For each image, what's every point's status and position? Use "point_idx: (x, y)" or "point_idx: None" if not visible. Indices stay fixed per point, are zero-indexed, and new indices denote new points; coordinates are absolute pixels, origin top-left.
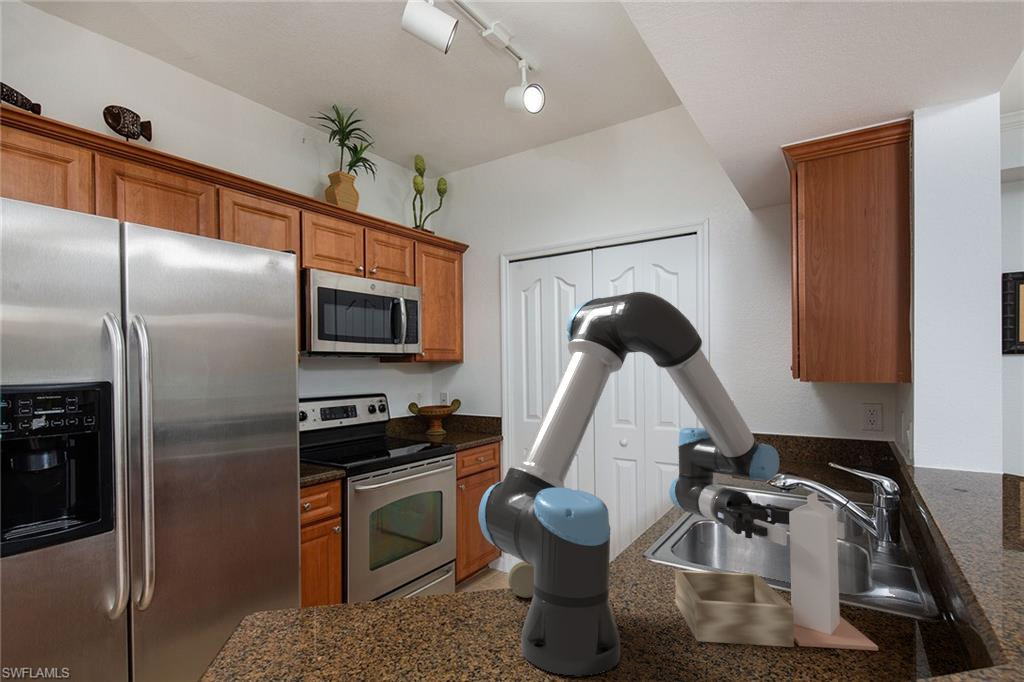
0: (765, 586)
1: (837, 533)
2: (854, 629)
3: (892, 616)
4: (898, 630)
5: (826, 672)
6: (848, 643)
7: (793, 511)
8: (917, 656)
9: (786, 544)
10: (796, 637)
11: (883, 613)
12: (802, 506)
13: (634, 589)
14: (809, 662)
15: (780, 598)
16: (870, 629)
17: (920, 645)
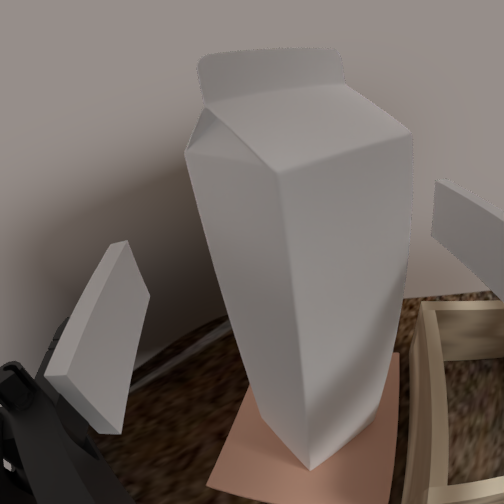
0: (444, 400)
1: (139, 293)
2: (249, 396)
3: (103, 438)
4: (155, 398)
5: None
6: None
7: (396, 125)
8: (220, 334)
9: (432, 232)
10: (396, 366)
11: (104, 451)
12: (357, 97)
13: None
14: (403, 318)
15: (432, 336)
16: (202, 410)
17: (179, 357)
